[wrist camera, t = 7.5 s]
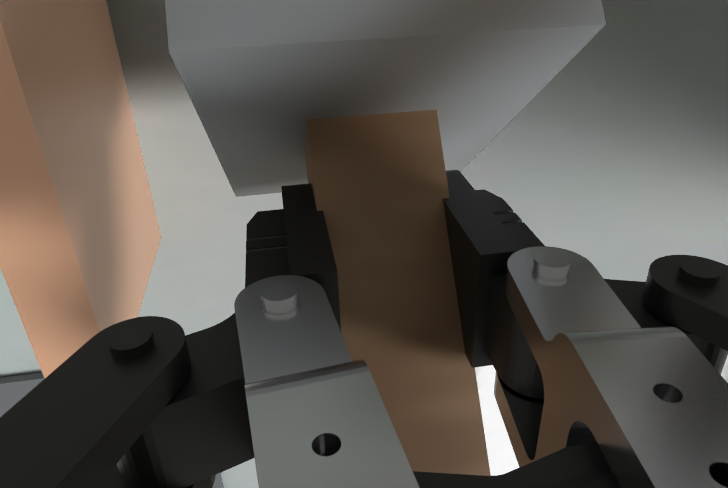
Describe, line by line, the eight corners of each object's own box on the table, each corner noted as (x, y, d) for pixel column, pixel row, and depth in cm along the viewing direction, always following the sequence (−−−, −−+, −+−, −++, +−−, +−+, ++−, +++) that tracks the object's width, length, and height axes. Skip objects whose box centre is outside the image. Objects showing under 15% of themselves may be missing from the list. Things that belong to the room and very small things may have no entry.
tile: (99, -29, 17) (-5, 4, 10) (161, 237, 22) (116, 385, 15) (35, -26, 17) (-115, 10, 10) (111, 242, 21) (42, 394, 15)
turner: (593, -41, 8) (724, 634, 7) (451, 141, 16) (501, 476, 15) (162, -20, 8) (224, 739, 6) (233, 160, 15) (266, 515, 14)
